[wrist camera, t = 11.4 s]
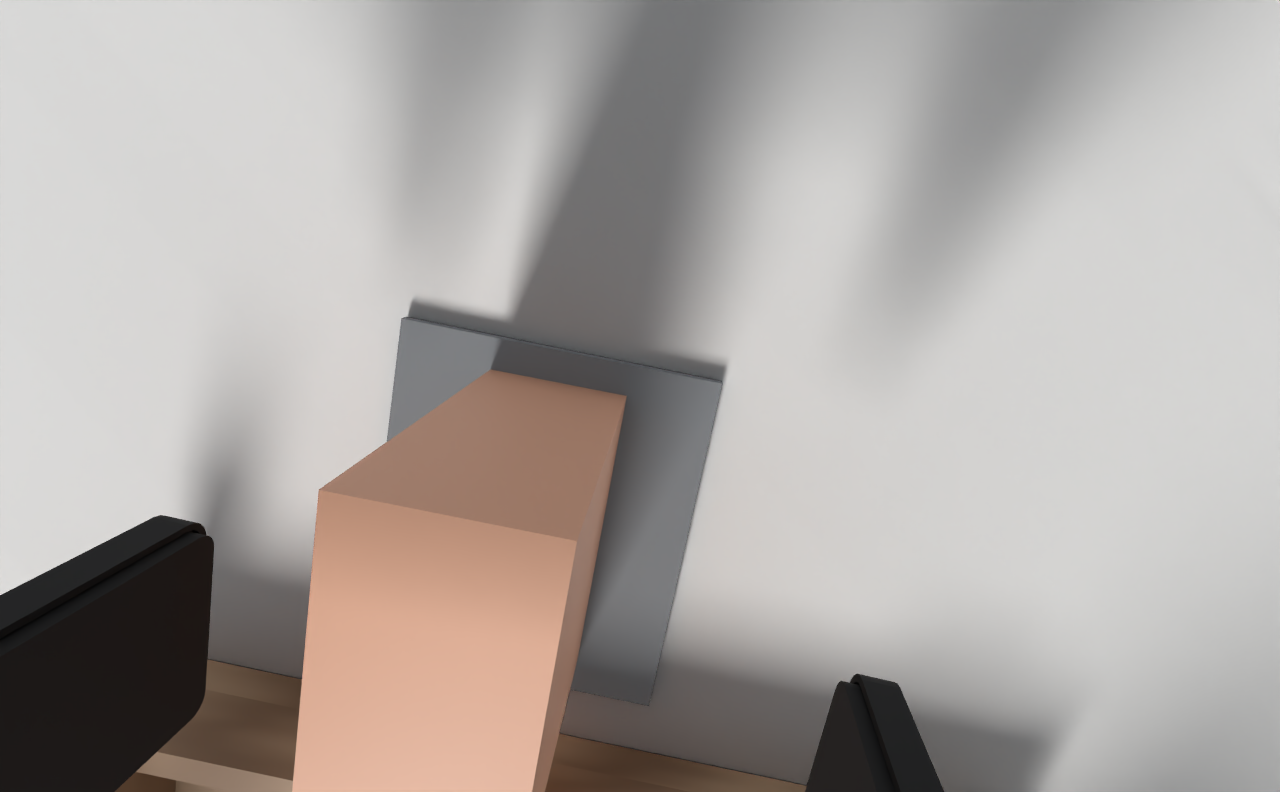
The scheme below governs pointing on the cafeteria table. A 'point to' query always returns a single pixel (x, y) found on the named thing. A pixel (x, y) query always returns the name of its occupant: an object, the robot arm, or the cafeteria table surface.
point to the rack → (267, 734)
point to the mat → (639, 490)
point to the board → (455, 593)
